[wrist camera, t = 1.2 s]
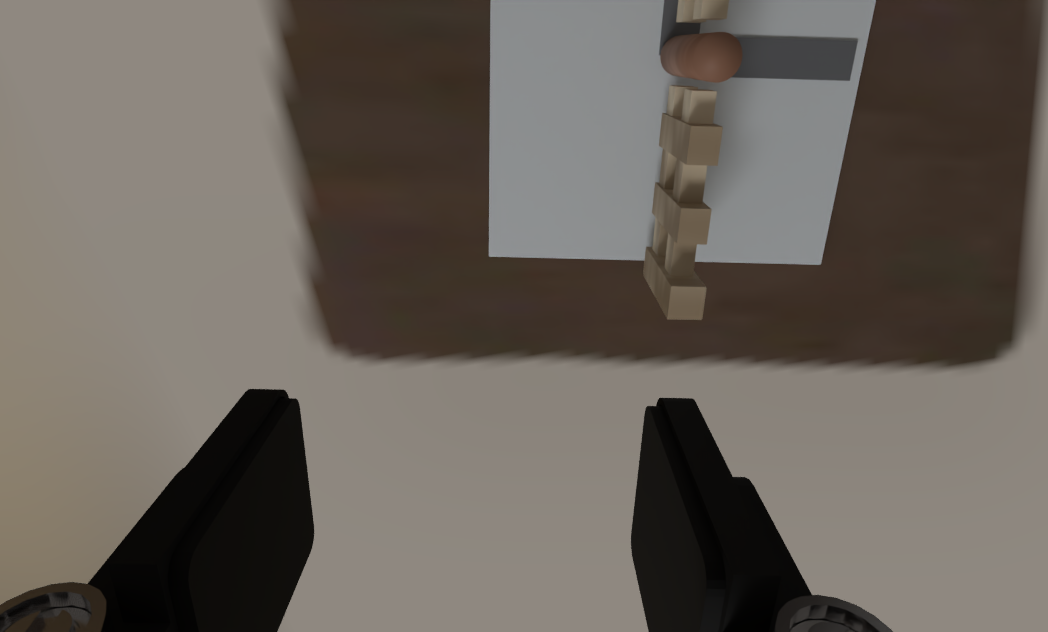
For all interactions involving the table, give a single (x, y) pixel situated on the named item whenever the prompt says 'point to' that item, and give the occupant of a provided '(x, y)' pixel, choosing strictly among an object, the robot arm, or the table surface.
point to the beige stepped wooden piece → (687, 169)
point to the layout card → (635, 121)
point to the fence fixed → (701, 10)
